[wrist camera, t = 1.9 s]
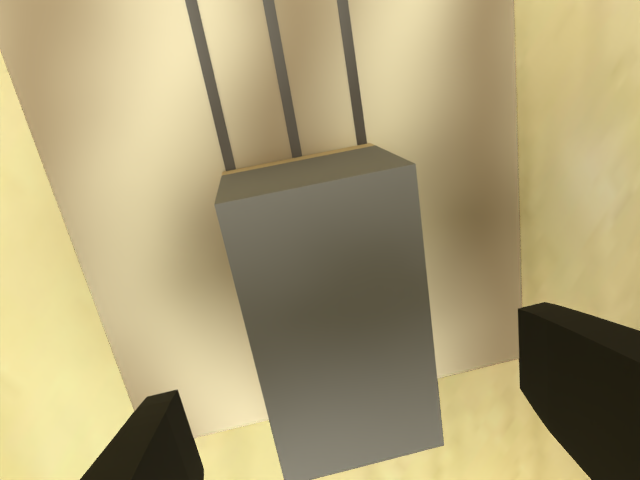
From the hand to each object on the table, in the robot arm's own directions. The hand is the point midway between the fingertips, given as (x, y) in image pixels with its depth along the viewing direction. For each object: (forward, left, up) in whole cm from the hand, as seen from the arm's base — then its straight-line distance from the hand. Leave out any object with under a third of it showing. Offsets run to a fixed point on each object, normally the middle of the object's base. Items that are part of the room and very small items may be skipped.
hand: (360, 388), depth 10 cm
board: (0, -4, -7) cm, 8 cm away
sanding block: (0, 0, -6) cm, 6 cm away
